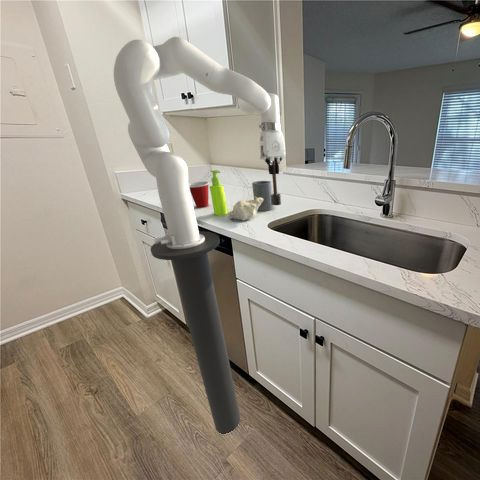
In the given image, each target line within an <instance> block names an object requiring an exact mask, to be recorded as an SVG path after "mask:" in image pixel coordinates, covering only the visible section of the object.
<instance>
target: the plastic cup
mask: <svg viewBox="0 0 480 480" xmlns="http://www.w3.org/2000/svg"><path fill="white" fill-rule="evenodd" d="M209 184H210V182H209V181H197V182H192V183H189V187H190V192H191V197H192V201H193V203H194V204H195V207H196V208H198V209H202V208H207V207H209V198H210V197H209V188H210V185H209Z"/></svg>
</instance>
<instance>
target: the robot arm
mask: <svg viewBox="0 0 480 480" xmlns="http://www.w3.org/2000/svg"><path fill="white" fill-rule="evenodd" d="M181 74H184V75H186V76H187V77H189V78H190V79H192V80H194V81H195V82H197V83H199V84H200V85H202V86H203V87H205V88H206V89H208V90H210V91H211V92H214V93H217V94H222V95H228V96H232V97H234V98H237V104H238V107H239V109H240V110H241V111H242V112H243V113H245V114H249V115H253V114H260V124H259V125H258V127H259V129H261V131H260V135H259V153H260V157H259V159H260V160H261V161H264V162H265V163H266V165H267V167H268V174H269V175H271V176H272V175H274V174H275V173H274V165H273V161H275V167H276V175H279V174H280V164H281V162H282V160H284V159H286V144H285V143H286V142H285V138H284V134H283V131H281V119H280V118H281V117H280V100H279V96H278V95H277V94H276V93H271V92H267V91H266V89H264V88H263V87H262V86H261V85H260V84H258V83H257V82H256V81H254V80H253V79H251V78H249V77H247V76H245V75H244V74H241V73H239V72H237V71H234V70H232V69H231V68H227V67H225V66H223V65H222V64H221V63H219V62H217V61H216V60H214V59H213V58H212V57H210V56H209V55H207V54H206V53H204V52H203V51H202V50H200V49H199V48H198V47H196V46H195V45H194V44H192V43H191V42H189V41H188V40H186V39H185V38H182V37H180V36H172V37H170V38H168V39H166V41H164V42H163V43H161V44H157V45H153V46H152V44H150V43H149V42H148V41H146V40H143V39H132V40H130V41H128V42H127V43H126V44H124V46H123V47H122V48H121V49H120V50H119V51H118V53H117V55H116V57H115V61H114V64H113V82H114V87H115V89H116V92H117V95H118V97H119V100H120V102H121V104H122V107H123V109H124V112H125V113H126V115H127V117H128V120H129V122H128V125H127V132H128V133H127V134H128V136H129V139H130V141H131V143H132V145H133V147H134V148H135V150H136V152H137V155H138V157H139V158H140V161H141V162H142V164H143V166H144V168H145V169H146V171H147V172H148V173H149V175H151V176H152V177H154V178H155V180H156V186H157V187H156V188H157V193H158V197H159V201H160V205H161V209H162V213H163V217H164V220H165V224H166V228H167V232H166V233H165V235H163V236H162V237H155V238H153V241H154V244H159V243H161V244H166V245H167V247H168V248H170V249H186V248H191V247H194V246H197V245H199V244H201V243H203V242H204V240H205V237H204V236H203V235H201V234H199V231H200V230H199V227H198V221H197V217H196V212H195V206H194V201H193V197H192V195H191V192H190V187H189V184H190V177H189V168H188V165H187V163H186V161H185V160H184V159H183V157H182V156H181V155H179V154H177V153H176V152H174V151H170V149H169V146H168V143H169V141H170V137H171V134H170V130H169V128H168V126H167V124H166V122H165V120H164V117H163V115H162V113H161V110H160V108H159V106H158V103H157V101H156V98H155V96H154V95H155V94H154V92H153V87H152V85H153V81H157V80H161V79H166V78H167V79H168V78H170V77H171V78H172V77H176V76H178V75H181Z"/></svg>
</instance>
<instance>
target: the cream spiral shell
mask: <svg viewBox="0 0 480 480" xmlns="http://www.w3.org/2000/svg"><path fill="white" fill-rule="evenodd" d="M263 201H264V200H263V198H261V197H259V198H256V199H254V198H253V199H250V200H238V201H237V202H236V203H235V204H234V205H233V208H232V210H231V211H228V213H227V214H226V215H227V216H226V217H227V219H229V220H241V221H247V220H248V221H250V220H251V219H253V218H255V217H256V215H257V212H258V211H257V210H258V207H259V206H260V205H261V203H262V202H263Z"/></svg>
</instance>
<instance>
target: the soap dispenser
mask: <svg viewBox="0 0 480 480" xmlns="http://www.w3.org/2000/svg"><path fill="white" fill-rule="evenodd" d="M210 173H212V177H211V178H210V180H211V185H209V191H210V197H211V201H212V208H213V213H214V215H215V216H218V217H220V216H225V215H228V213H229V211H228V206H227V199H226V192H225V187H224V185H223V184H221V181H220V177H218V174H220V173H221V171H220V170H217V169H213V170H210Z"/></svg>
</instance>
